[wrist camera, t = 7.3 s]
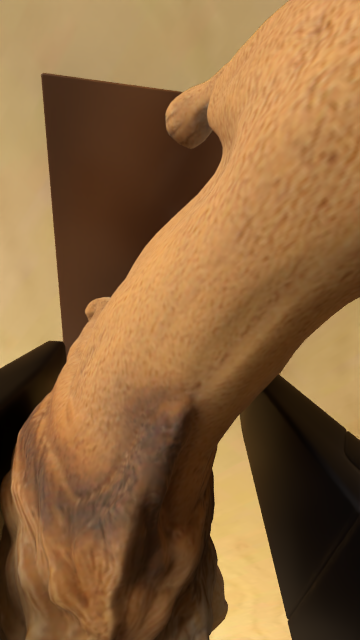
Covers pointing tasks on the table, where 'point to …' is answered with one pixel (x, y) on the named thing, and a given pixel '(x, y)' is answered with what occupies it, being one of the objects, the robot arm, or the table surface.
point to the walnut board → (112, 183)
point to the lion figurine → (190, 347)
